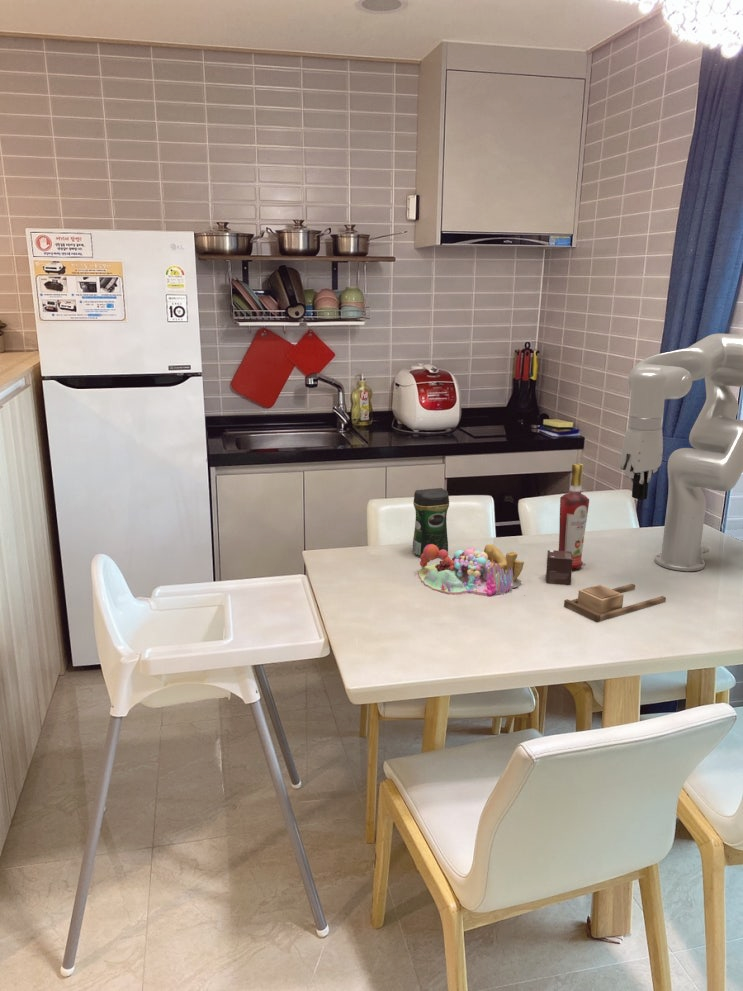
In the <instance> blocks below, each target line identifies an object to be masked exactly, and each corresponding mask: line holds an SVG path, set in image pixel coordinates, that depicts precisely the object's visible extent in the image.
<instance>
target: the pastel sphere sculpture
mask: <svg viewBox="0 0 743 991" xmlns="http://www.w3.org/2000/svg"><path fill="white" fill-rule="evenodd" d="M437 558H439V559H440V561H439V563H436V564H435V563H434V564H430V565H428V563H429V562H431V561H433V560H436V559H437ZM517 558H518V553H517V552H515V551H510V552H506V556H505V555H504V554H503V553H502V551H501V550H500V549H499V548H497V547H496V545H494V544H485V546H484V550H483V551H480V550H479V549H475V547H471V548H470V547H469V548H466V549H464V550H462V549H458V550H456V551H455V552H454V553H453V558H452V559H451V558H450V557H449V551H448V552H447V551H446V550H444V549H442V550H440V551H439V549H438V547H437V546H436V545H434V544H429V545H427V546H426V547H425V548H424V550H423V553H422V555H421V557H420V561H419V565H420V567H421V568H420V569H419V571H418V573H417V574H418V576H419V577H418V578H419V580H420V582H421V583H423V585H424V586H425V587H428V588H429V589H431V590H432V591H435V592H438V593H443V594H445V595H446V594H447V595H453V596H454V595H457V596H458V595H463V594H474V595H478V596H479V595H480V596H484V597H485V596H489V597H491V596H493V595H494V594H496V595H498V594H499V595H501V594H502V595H505V594H506V593H507V594H509V591H510V592H513V588H518V587H519V586H521V585H522V580H521V579H519V578H518V577H519V576H520V575H521V572H522V571H523V569H524V563H525V562H524V561H520V560H517ZM427 565H428V566H427Z"/></svg>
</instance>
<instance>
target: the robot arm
mask: <svg viewBox="0 0 743 991" xmlns="http://www.w3.org/2000/svg"><path fill="white" fill-rule="evenodd" d="M702 379H704V383H705V396H706V398H705V402H704V404H703V407H702V409H701V411H700V412H699V414H698V417H697V418H696V420H695V422H694V423H693V426H692V428H691V430H690V433H689V435H688V436H689V437H688V440H689V441H688V442H689V444H690V446H691V447H682V448H681V447H680V448H678V449H676V450H674V451H672V453H671V454H670V455H669V457H668V460H667V478H668V479H667V480H668V493H667V503H666V512H665V519H664V527H663V537H662V544H661V552H659V553H657V554H656V555H655V556H654V562H655V563H656V564H657V565H658V566H661V567H663V568H666V569H669V570H672V571H680V572H696V571H697V572H698V571H701V570H703V569H704V568H705V563H706V562H705V560H703V559H702V558H701V556H702V555H704V554H707V553H709V552H710V547H709V546H707V545H704V546H703V545H702V538H703V530H704V524H705V523H704V522H705V517H706V516H705V514H706V510H707V501H706V500H707V499H706V497H705V494H704V491H703V490H702V489H707V490H712V491H717V492H729V491H731V490H733V489H734V488H735V486H736V484H738V482H739V479H740V478H741V476H742V474H743V420H742V419H736V417H737V414H738V413H739V409H740V408H739V407H740V406H739V403H738V400H737V398H736V396H735V395H734V393H733V392H732V389H731V388H730V387H739V388H743V334H738V333H737V334H736V333H735V334H734V333H712V334H709V335H707V336H705V337H704V338H702V339H700V340H698V341H697V342H695V343H693V344H692V345H690V346H688V347H685V348H681V349H676V350H672V351H668V352H663V353H657V354H655V355H652V356H649V357H647V358H645V359H643V360H641V361H640V362H638V363H636V365H635V366H634V367H633V368H631V371H630V373H629V375H628V379H627V381H628V382H627V383H628V384H627V385H628V387H629V390H630V398H629V413H628V425H627V426H628V427H627V429H626V430H625V434H624V436H623V441H622V447H621V455H620V464H619V468H620V469H621V470H623V471H625V472H624V477H625V478H627V479H630V480H631V482H632V489H631V490H632V491H631V497H632V498H634V499H636V500H641V501H643V500H647V499H648V492H649V483H650V482H651V479H652V475H653V474H655V473H657V472H658V471H659V467H661V465H662V461H663V450H664V442H663V441H664V439H663V434H664V433H663V422H664V410H665V401H666V400H678V399H681V398H684V396H686V395H688V393H689V392H690V390H691V389H692V385H693V382H694V381H695V382H696V381H699V380H702ZM692 447H693V448H692ZM701 545H702V546H701Z"/></svg>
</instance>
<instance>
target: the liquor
mask: <svg viewBox="0 0 743 991" xmlns="http://www.w3.org/2000/svg"><path fill="white" fill-rule="evenodd" d="M583 468H584V464H583V463H576V462H575V463H572V464H571V480H570V487H569V492H566V493H565V494H563V495H562V496H560V498H559V499H560V500H559V527H558V528H559V531H558V532H559V535H558V536H559V537H558V551H570V552H572V557H573V561H572V571H575V570H578V569H579V568H581V567H582V566H583V565H584V563H583V561H582V559H583V548H584V541H585V533H586V528H587V527H586V526H587V523H588V522H587V520H588V513H589V507H590V506H589V504H590V498H588V497H587V495H585V494H583V493H582V474H583Z"/></svg>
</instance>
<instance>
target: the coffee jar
mask: <svg viewBox="0 0 743 991" xmlns="http://www.w3.org/2000/svg"><path fill="white" fill-rule="evenodd" d="M449 498H450V495H449V492H448V490H446V489H444V488H442V487H439V488H435V487H434V488H425V489H417V490H416V489H415V491H414V494H413V503H412V504H413V507H414V510H415V523H414V532H413V540H412V552H413V554H414V555H415V556H417V557H419V558H421V555H422V553H423V550H424V548H425V547H426V546H427V545H429V544H434V545H436V546H437V547H438V549H439V551H440V550H442V549H444V550H446V551H447V552H448V553H449V538H448V526H447V515H448V514H447V513H448V509H449V508H450V507H449V506H450V499H449Z"/></svg>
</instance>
